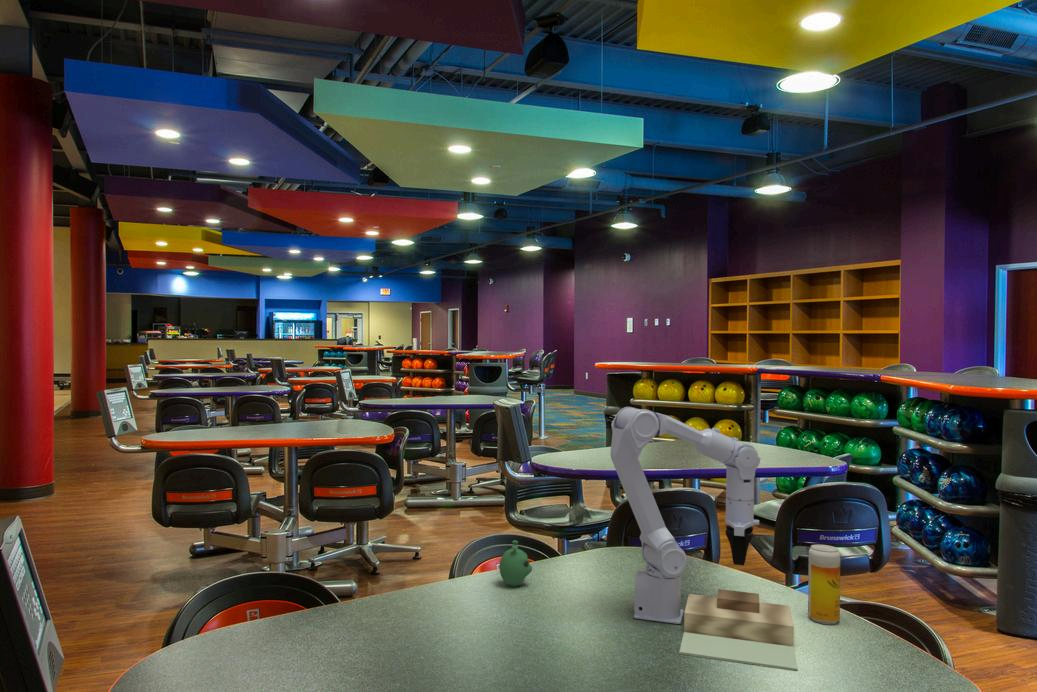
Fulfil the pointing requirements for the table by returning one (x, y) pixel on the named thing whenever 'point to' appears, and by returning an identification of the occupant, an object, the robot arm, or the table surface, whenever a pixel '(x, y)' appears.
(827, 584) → the beer can
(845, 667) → the table surface
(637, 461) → the robot arm
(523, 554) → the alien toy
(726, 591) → the walnut tile
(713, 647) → the sage mat
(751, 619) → the birch deck
